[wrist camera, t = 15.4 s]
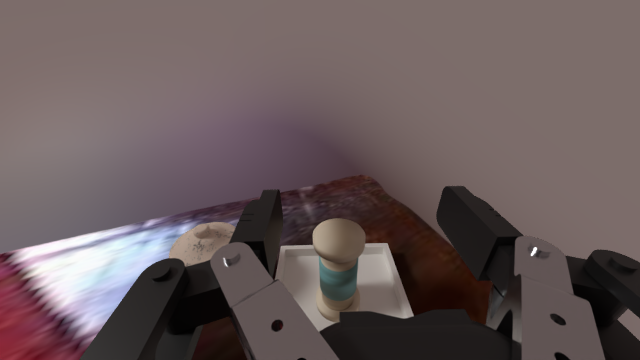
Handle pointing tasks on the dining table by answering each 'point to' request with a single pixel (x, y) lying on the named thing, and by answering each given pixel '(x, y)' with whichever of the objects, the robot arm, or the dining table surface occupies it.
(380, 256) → the tray
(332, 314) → the spool
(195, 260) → the teacup with lid
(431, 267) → the dining table surface
